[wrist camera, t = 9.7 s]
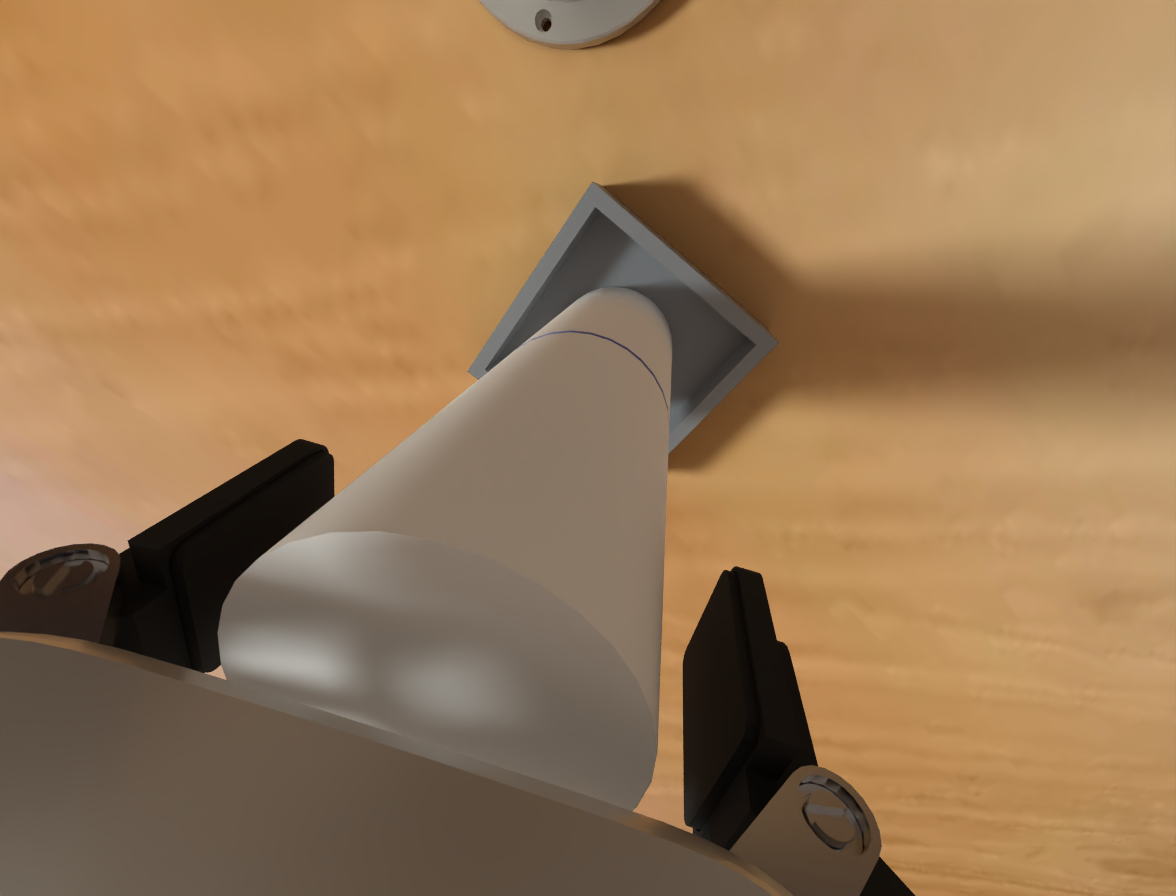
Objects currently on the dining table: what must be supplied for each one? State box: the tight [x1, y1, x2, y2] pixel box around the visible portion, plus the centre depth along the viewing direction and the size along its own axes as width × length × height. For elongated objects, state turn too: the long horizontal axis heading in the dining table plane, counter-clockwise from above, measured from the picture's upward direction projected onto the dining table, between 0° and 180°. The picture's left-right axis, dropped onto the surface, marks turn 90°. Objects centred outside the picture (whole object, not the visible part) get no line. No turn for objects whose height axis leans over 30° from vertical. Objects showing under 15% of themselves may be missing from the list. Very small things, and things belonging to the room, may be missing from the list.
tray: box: [467, 182, 778, 454], centre depth 29 cm, size 13×13×4 cm
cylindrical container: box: [218, 287, 672, 811], centre depth 19 cm, size 7×7×25 cm
